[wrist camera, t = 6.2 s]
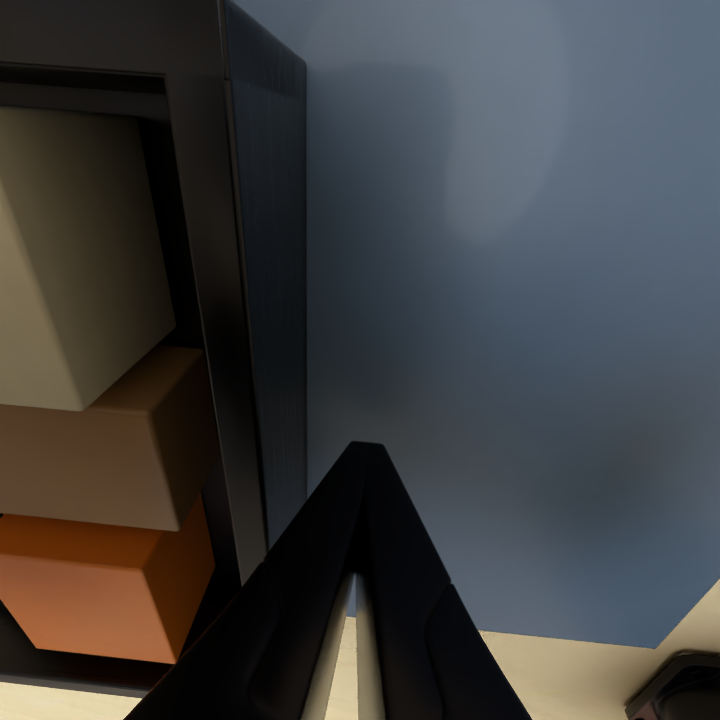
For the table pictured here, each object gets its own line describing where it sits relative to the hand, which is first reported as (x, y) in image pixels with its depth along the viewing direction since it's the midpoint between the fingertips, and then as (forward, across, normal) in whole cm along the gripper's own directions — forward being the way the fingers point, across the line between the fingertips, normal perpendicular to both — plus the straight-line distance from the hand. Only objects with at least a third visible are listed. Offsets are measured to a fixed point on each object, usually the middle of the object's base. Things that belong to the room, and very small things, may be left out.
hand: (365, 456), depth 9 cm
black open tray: (+1, +6, 0) cm, 6 cm away
